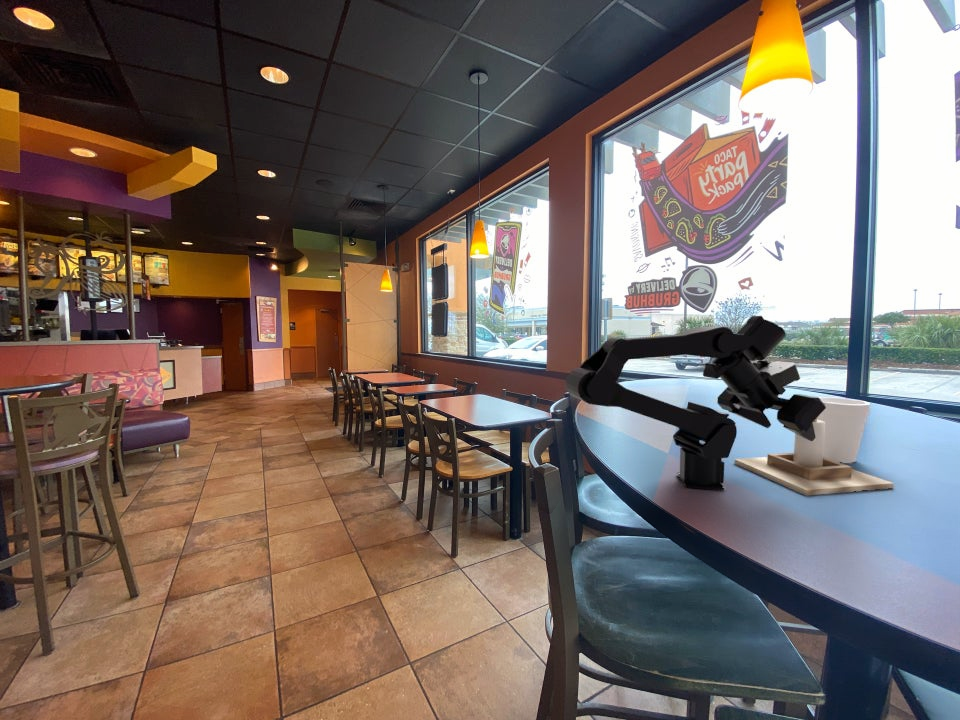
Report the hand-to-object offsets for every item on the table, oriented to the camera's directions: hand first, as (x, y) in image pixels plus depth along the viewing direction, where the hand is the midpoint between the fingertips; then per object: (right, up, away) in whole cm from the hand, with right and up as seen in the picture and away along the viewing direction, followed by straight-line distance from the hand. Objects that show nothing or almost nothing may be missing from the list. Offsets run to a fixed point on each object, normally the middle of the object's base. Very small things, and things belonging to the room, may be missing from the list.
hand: (789, 432), depth 75 cm
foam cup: (+19, -8, +10) cm, 23 cm away
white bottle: (+4, -8, +1) cm, 9 cm away
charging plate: (+4, -9, +1) cm, 10 cm away
